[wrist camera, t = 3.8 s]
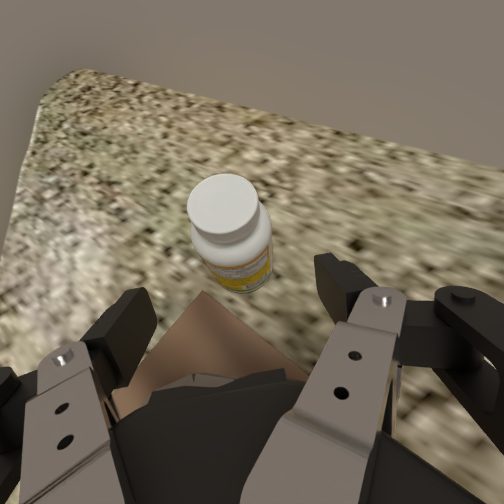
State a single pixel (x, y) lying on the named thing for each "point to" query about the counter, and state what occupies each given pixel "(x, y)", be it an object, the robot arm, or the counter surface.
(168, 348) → the ring seat
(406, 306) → the robot arm
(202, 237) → the supplement bottle
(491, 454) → the counter surface
